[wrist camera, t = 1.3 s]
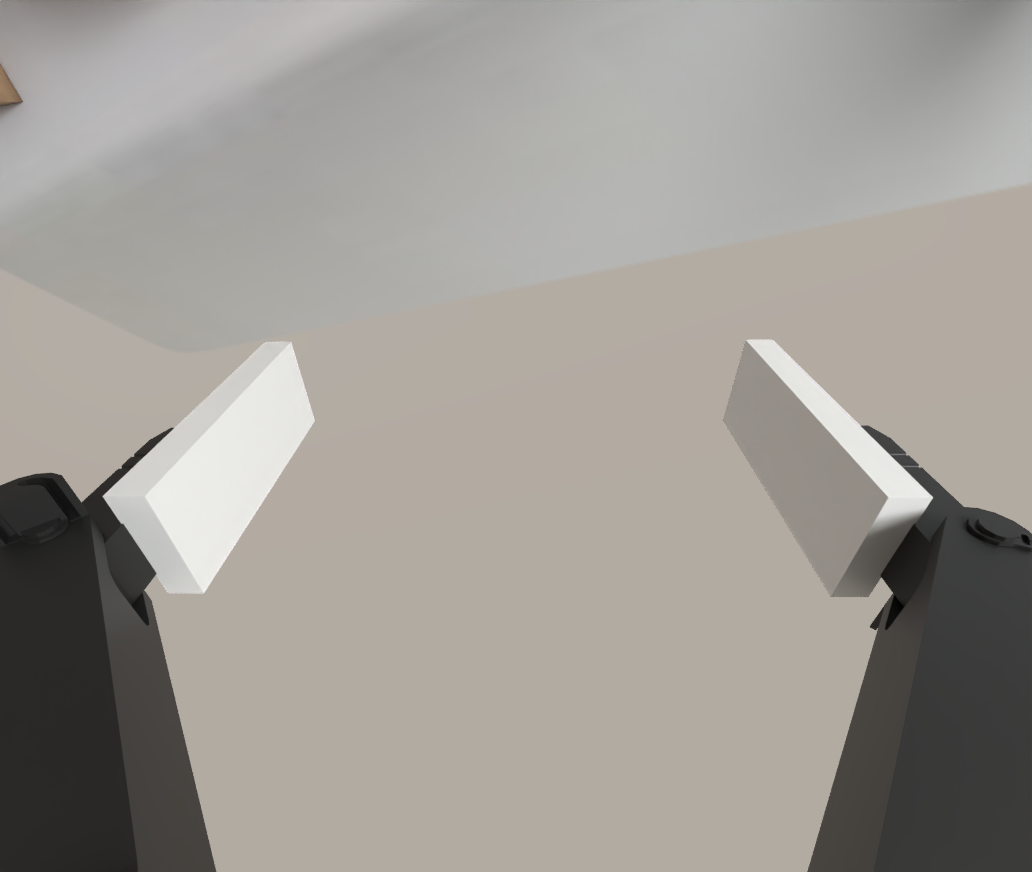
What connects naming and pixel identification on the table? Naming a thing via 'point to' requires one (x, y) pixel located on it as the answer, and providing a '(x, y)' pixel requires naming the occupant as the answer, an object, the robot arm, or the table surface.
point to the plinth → (7, 90)
